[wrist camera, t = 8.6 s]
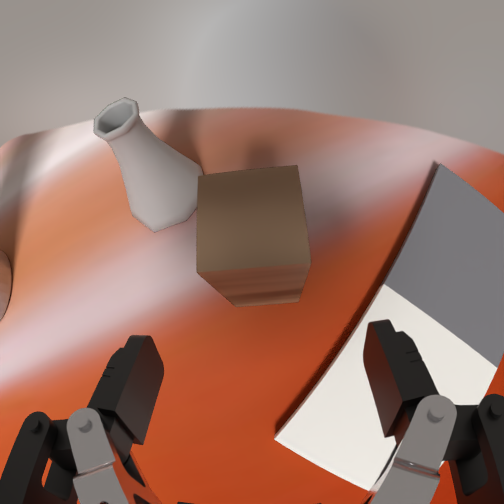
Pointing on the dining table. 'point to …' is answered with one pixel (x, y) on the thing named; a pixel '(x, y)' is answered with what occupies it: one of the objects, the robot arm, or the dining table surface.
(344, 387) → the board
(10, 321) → the dining table surface
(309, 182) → the dining table surface
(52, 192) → the dining table surface
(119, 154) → the flask
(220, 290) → the block
